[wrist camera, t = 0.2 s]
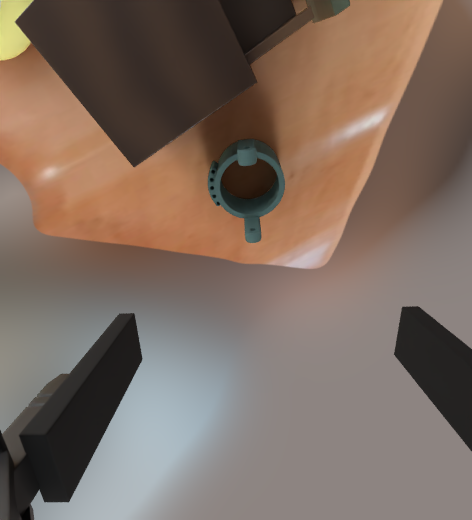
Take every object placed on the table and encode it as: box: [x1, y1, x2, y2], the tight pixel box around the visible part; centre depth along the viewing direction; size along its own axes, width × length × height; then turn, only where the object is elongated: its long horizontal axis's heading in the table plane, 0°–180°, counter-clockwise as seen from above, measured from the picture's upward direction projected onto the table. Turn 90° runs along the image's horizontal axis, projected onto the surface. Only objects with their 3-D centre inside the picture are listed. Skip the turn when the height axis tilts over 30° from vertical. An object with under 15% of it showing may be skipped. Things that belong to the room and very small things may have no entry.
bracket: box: [208, 139, 285, 243], centre depth 34 cm, size 9×9×9 cm
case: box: [15, 0, 257, 167], centre depth 26 cm, size 14×13×10 cm
